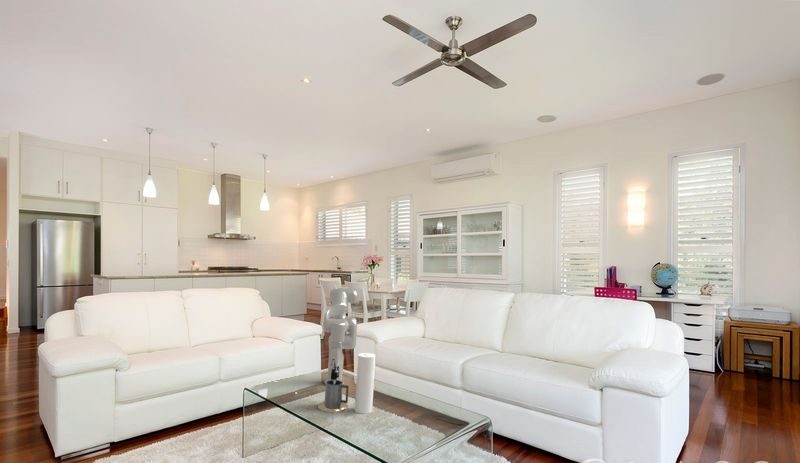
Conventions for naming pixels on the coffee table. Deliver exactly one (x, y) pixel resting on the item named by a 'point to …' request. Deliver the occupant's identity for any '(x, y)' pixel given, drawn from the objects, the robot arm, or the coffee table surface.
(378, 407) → the coffee table surface
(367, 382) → the cylinder container
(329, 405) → the press carafe
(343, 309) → the robot arm
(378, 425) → the coffee table surface
